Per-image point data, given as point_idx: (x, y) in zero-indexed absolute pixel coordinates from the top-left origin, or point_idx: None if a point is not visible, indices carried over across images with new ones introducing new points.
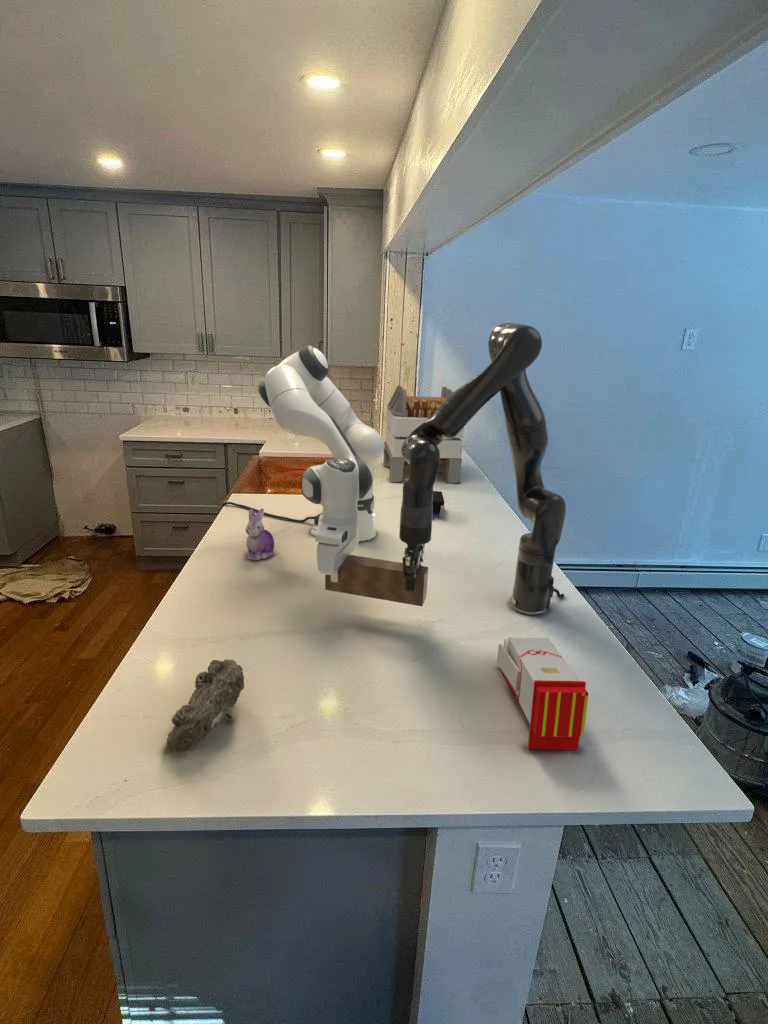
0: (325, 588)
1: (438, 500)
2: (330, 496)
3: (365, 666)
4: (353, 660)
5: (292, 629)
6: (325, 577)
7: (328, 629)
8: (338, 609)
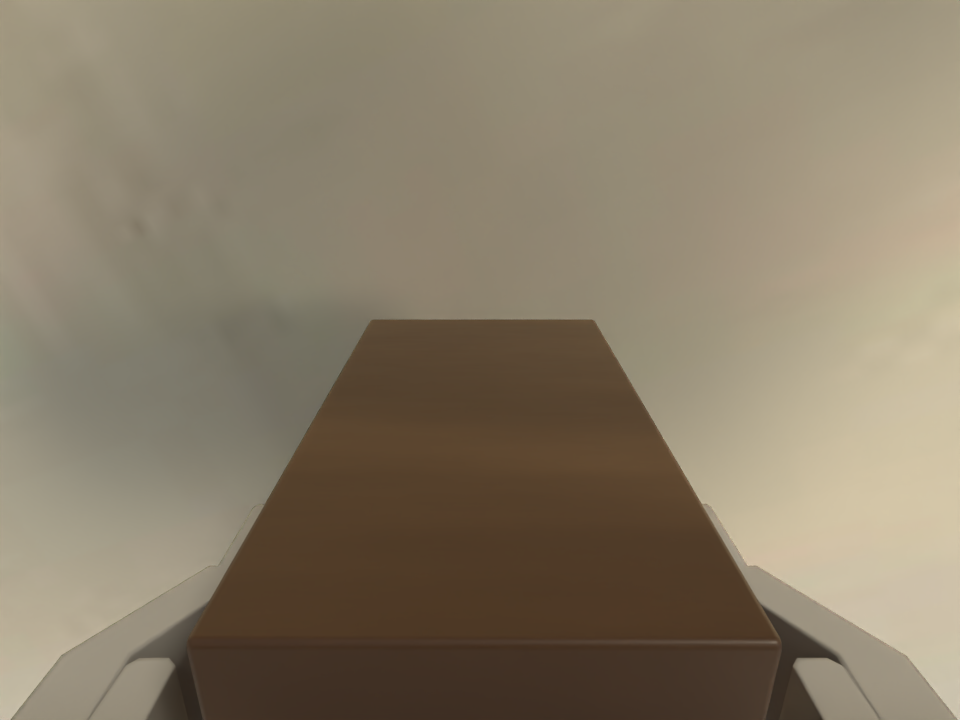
0: (367, 329)
1: None
2: None
3: (8, 643)
4: (16, 582)
5: (89, 85)
6: (329, 393)
7: (233, 349)
8: (527, 318)
